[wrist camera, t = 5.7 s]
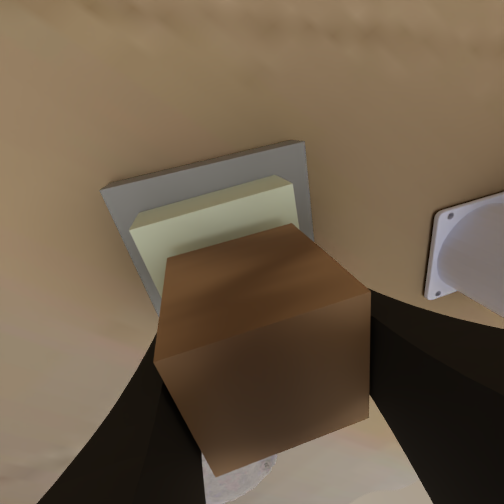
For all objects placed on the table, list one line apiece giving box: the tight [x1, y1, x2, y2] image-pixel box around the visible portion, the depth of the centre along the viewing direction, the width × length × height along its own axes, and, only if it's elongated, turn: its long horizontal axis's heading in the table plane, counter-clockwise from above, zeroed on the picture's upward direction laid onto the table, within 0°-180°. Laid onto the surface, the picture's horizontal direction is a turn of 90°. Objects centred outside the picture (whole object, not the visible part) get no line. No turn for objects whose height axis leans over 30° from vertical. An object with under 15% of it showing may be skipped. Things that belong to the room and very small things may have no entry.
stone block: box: [202, 454, 277, 504], centre depth 23 cm, size 12×5×10 cm
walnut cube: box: [153, 223, 371, 478], centre depth 9 cm, size 5×5×5 cm
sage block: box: [129, 175, 299, 298], centre depth 14 cm, size 7×7×2 cm
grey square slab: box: [100, 140, 314, 316], centre depth 16 cm, size 10×10×2 cm
